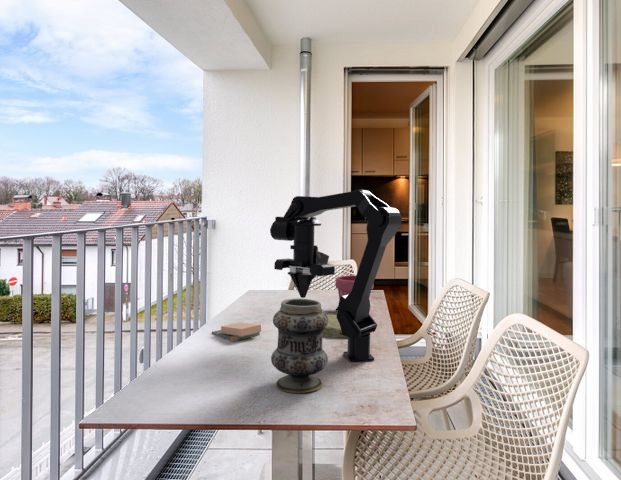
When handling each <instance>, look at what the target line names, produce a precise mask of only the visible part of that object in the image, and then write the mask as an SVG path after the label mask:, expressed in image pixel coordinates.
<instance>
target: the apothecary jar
mask: <svg viewBox="0 0 621 480" xmlns="http://www.w3.org/2000/svg"><path fill="white" fill-rule="evenodd" d="M326 314H327V313H325V311H323V309H322V304H321V301H319V300H315V299H311V298H301V297H300V298H297V297H296V298H293V297H292V298H286V299H283V300H282V301H281V303H280V308H279V310H278V311H276V313H274V315H273V317H272V323H273V326H274V327H275V328H277V331H278V335H277V348H276V349H274V350H273V352H272V353H271V357H270V359H271V361H270V362H271V364H272V366H273V367H274V368H275V369H276V370H277V371H279V372H280V373H283V374H285V376H282V377H281V378H279V379H278V380H277V381H276V384H275V385H276V387H277V388H278V389H279V390H280V391H282V392H286V393H291V394H308V393H312V392H317V391H318V390H320V389H322V387H323V381H322V380H321V379H320V378H319V377H316V376H314V374H317V373H319V372H321V371H323V369H325V367H326V366H327V364H328V362H329V361H328V360H329V357H328V355H327V352H326V351H325V350H324V349H323V337H324V335H323V329H325V328H326V326H327V325H328V317H327V315H326Z"/></svg>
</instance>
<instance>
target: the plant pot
mask: <svg viewBox="0 0 621 480" xmlns="http://www.w3.org/2000/svg"><path fill="white" fill-rule="evenodd" d="M356 275H357V274H354V275H351V274H350V275H340V276H336V277H335V282H334V283H335V288H336V289H337V293H338V299H340V297H341V296H344V295H348V294H349V293H350V292H351V290H352V287H353V284H354V281H355V278H356ZM374 286H375V285H374V283H373V286H372V289H371V290H373V289H374ZM371 292H372V291H371ZM371 292H370V295H369V299H370V297H371Z"/></svg>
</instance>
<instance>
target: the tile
mask: <svg viewBox="0 0 621 480" xmlns="http://www.w3.org/2000/svg"><path fill="white" fill-rule="evenodd" d="M220 330H221V333H222V334H228V335H234V336H240V337H243V336H247V335H252V334H256V333H261V332H262V326H261V324H258V323H248V322H241V321H239V322H236V323H231V324H224V325H221V326H220Z"/></svg>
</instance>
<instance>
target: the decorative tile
mask: <svg viewBox="0 0 621 480" xmlns="http://www.w3.org/2000/svg"><path fill="white" fill-rule="evenodd" d="M325 314H326V315H327V317H328V325H327V326H326V328H325V329H323V335H322V336H323V337H324V336H325V337H328V338H329V337H333V338H347V339H348V337H347V336H344V335H342V331H341V328H340V324H339V322H338V319H337V317H336V315H337V314H331V313H330V314H329V313H325Z"/></svg>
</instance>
